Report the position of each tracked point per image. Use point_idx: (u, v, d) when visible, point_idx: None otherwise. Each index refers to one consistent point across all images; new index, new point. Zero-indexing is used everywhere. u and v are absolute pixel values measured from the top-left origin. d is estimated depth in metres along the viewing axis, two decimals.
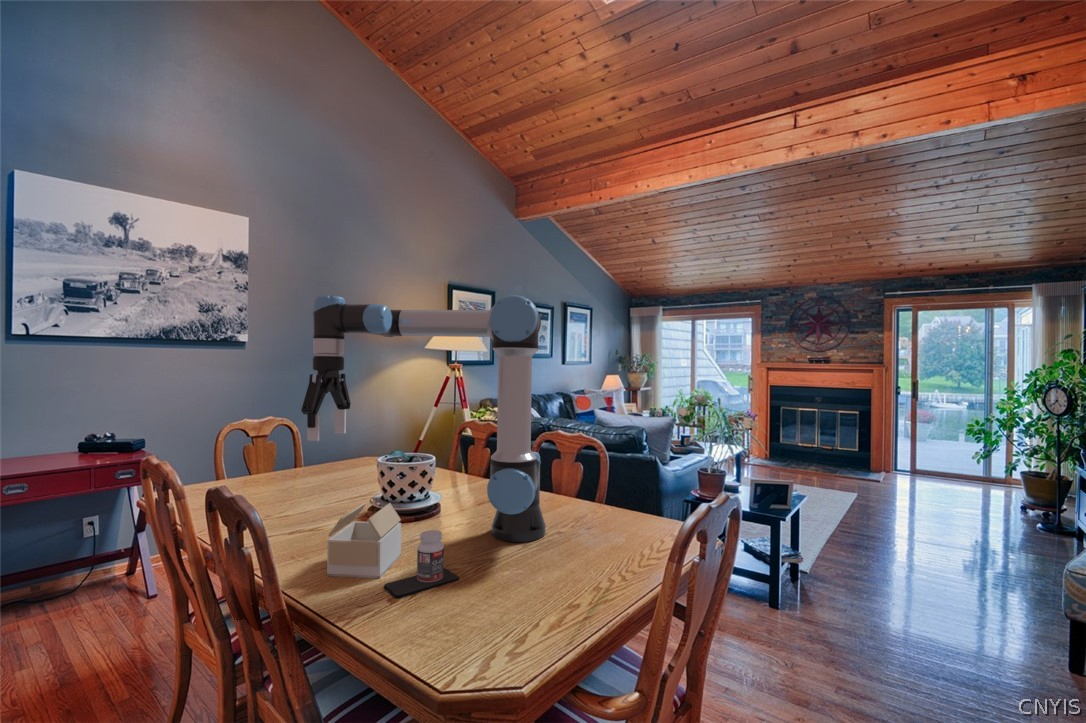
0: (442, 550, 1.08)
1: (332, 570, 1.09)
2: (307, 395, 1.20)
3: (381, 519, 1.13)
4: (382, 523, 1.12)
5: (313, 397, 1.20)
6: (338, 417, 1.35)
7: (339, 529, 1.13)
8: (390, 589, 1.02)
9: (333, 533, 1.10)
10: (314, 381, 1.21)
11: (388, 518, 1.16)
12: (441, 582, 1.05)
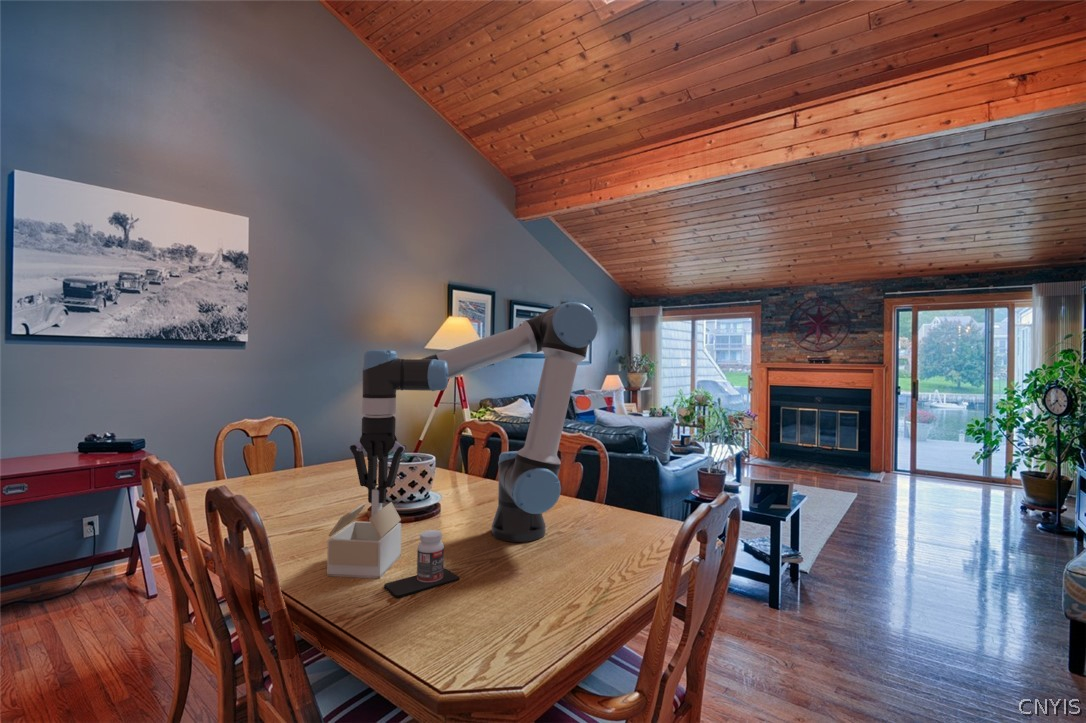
0: (442, 550, 1.08)
1: (332, 570, 1.09)
2: None
3: (382, 518, 1.13)
4: (383, 523, 1.12)
5: None
6: None
7: (339, 529, 1.13)
8: (390, 589, 1.02)
9: (333, 533, 1.10)
10: None
11: (389, 518, 1.16)
12: (441, 582, 1.05)
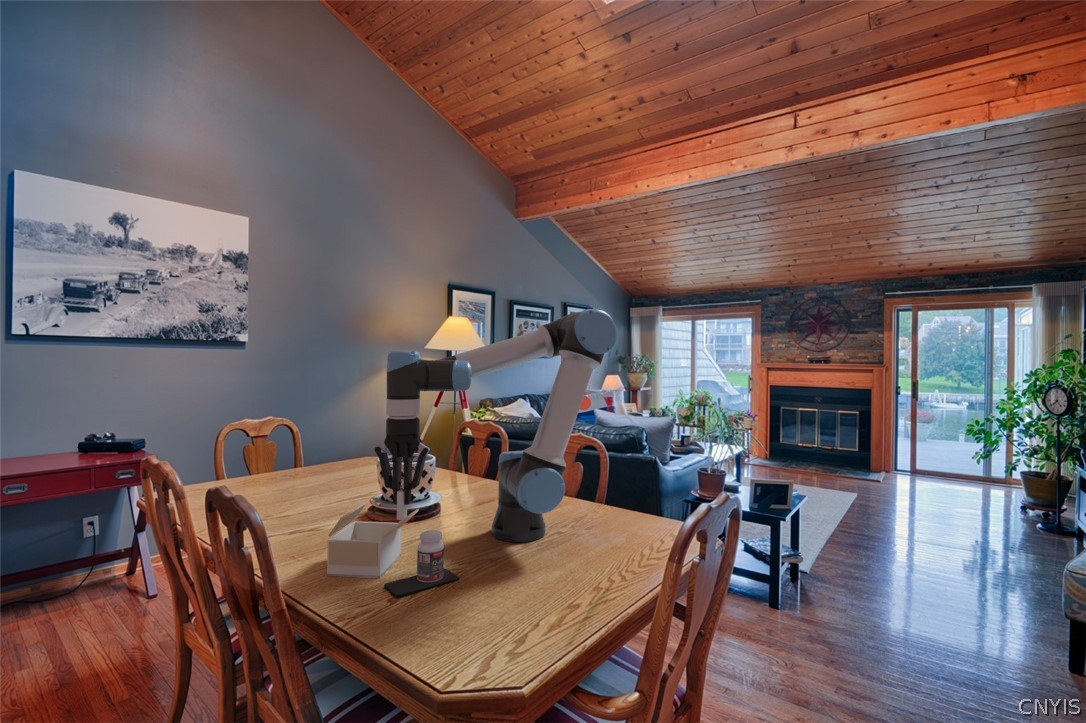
0: (442, 550, 1.08)
1: (332, 570, 1.09)
2: None
3: None
4: None
5: None
6: None
7: (339, 529, 1.13)
8: (390, 589, 1.02)
9: (333, 533, 1.10)
10: None
11: None
12: (441, 582, 1.05)
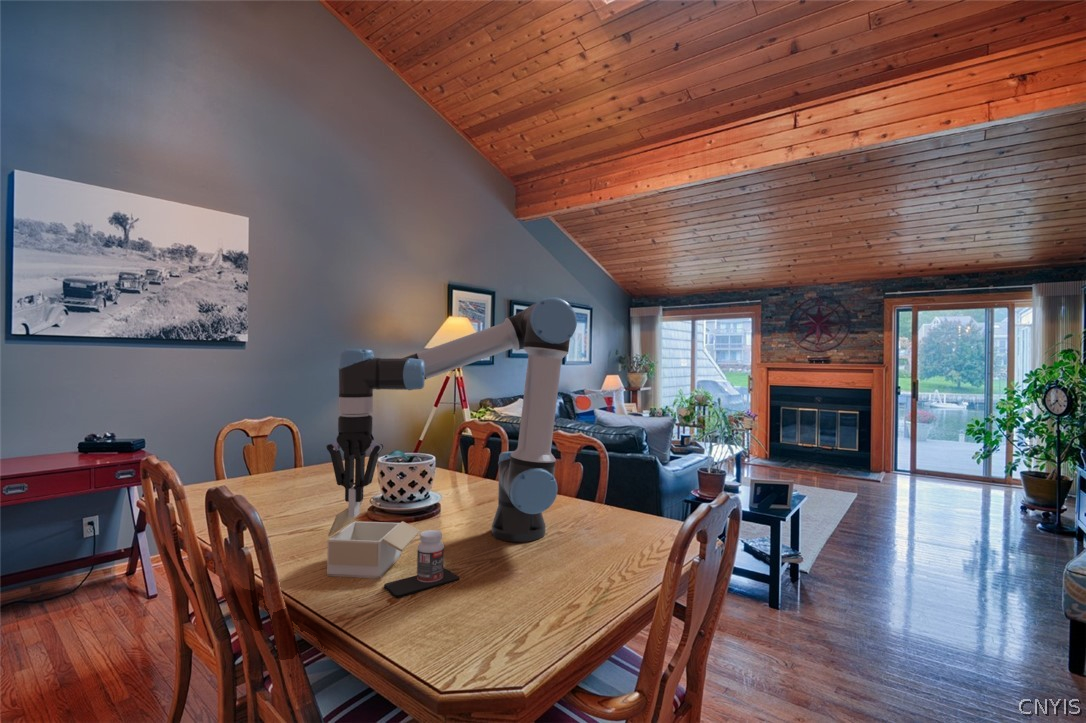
0: (442, 550, 1.08)
1: (332, 570, 1.09)
2: None
3: None
4: None
5: None
6: None
7: (339, 528, 1.13)
8: (390, 589, 1.02)
9: (332, 532, 1.10)
10: None
11: None
12: (441, 582, 1.05)
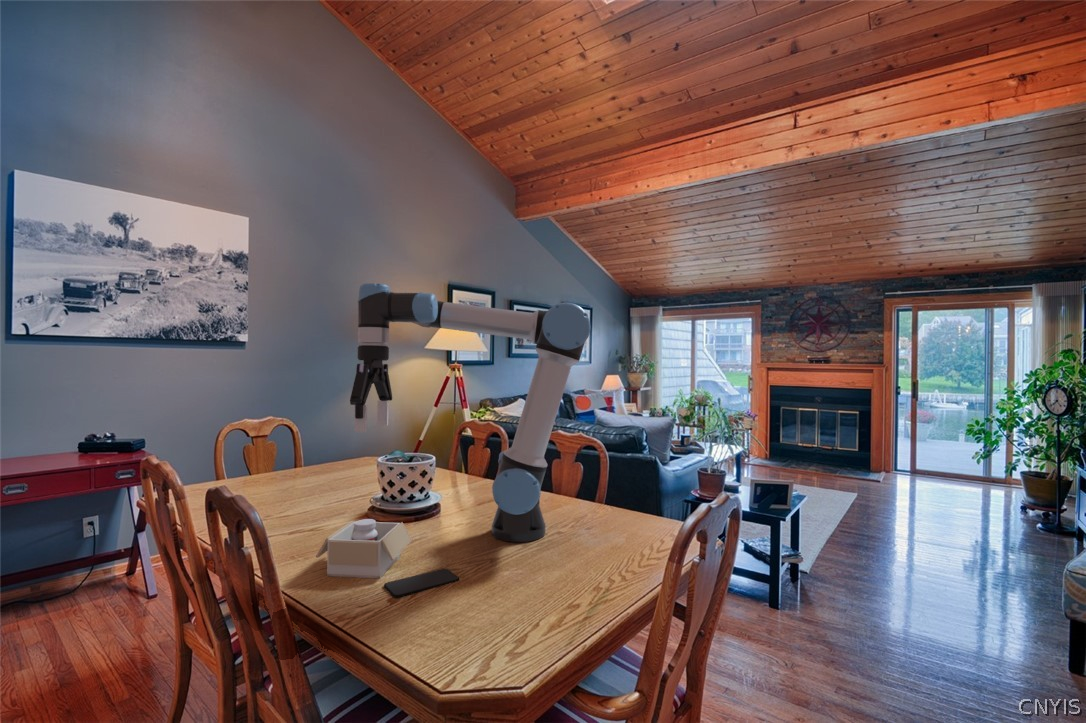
0: (375, 538, 1.13)
1: (332, 570, 1.09)
2: (354, 385, 1.16)
3: None
4: None
5: (361, 387, 1.16)
6: (380, 409, 1.31)
7: None
8: (390, 589, 1.02)
9: None
10: (361, 371, 1.18)
11: None
12: (441, 582, 1.05)
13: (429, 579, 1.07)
